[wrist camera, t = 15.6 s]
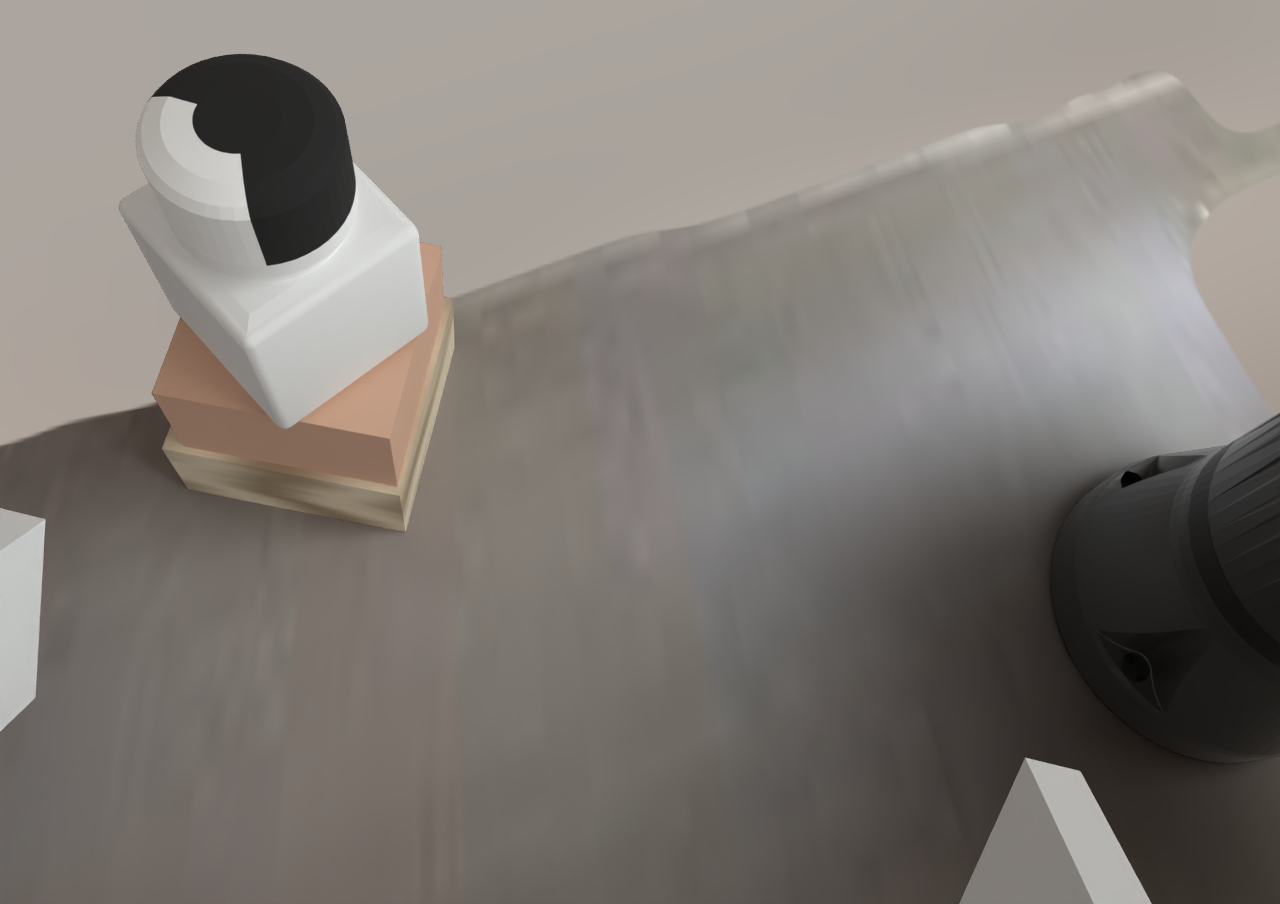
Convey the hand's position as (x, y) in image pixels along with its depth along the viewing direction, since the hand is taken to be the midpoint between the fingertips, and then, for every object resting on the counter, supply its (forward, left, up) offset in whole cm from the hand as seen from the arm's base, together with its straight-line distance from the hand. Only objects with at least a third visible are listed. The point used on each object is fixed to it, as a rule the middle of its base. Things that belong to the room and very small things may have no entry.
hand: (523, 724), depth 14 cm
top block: (+12, -18, -29) cm, 36 cm away
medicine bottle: (+12, -18, -24) cm, 32 cm away
